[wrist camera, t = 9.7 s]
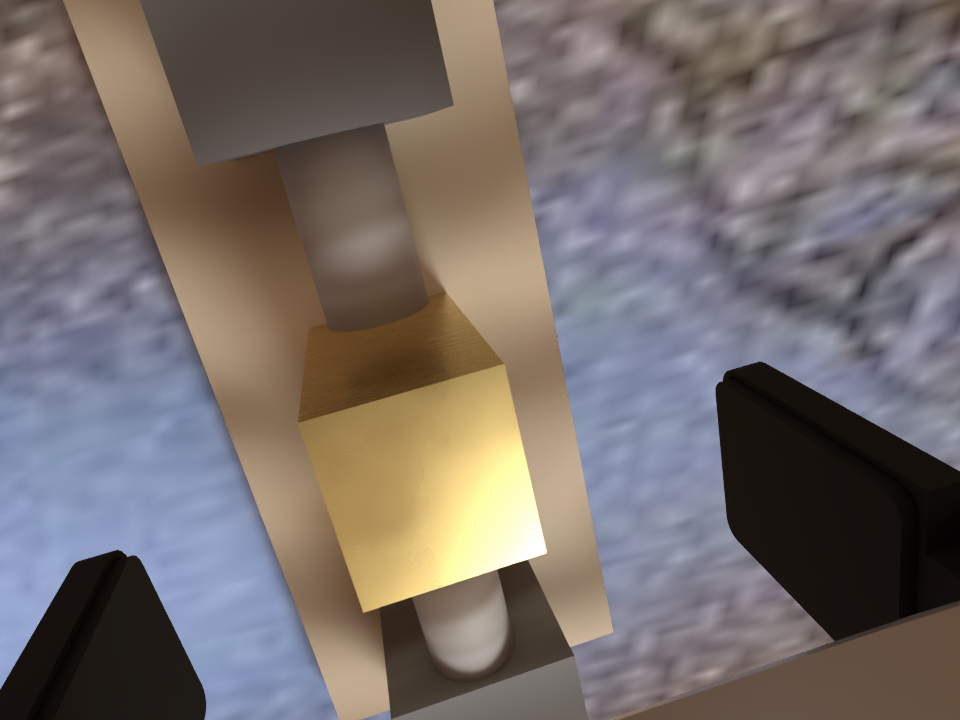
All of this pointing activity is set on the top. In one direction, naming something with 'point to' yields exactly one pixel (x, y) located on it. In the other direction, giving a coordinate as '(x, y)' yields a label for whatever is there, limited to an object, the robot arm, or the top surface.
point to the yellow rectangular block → (417, 453)
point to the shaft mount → (359, 299)
